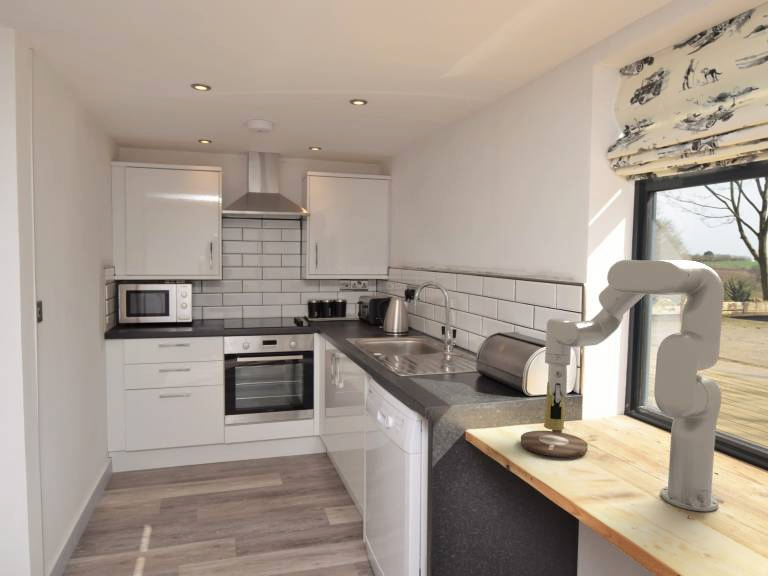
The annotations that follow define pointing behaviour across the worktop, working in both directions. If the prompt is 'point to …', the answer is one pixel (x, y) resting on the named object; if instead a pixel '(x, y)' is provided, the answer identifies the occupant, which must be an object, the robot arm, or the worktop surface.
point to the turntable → (554, 443)
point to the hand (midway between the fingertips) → (554, 415)
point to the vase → (549, 423)
